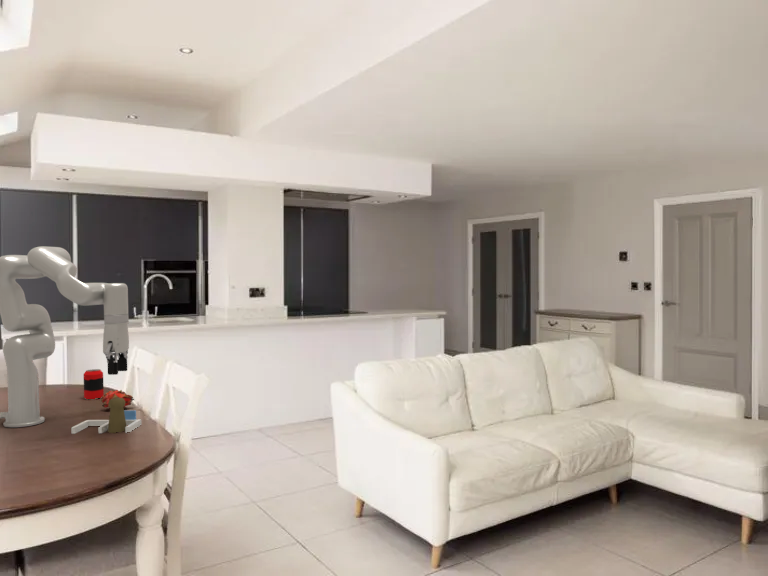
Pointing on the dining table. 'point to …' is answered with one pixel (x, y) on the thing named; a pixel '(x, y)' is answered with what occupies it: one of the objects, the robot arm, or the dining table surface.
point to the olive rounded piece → (116, 415)
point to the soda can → (93, 384)
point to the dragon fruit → (116, 394)
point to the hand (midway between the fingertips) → (117, 372)
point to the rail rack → (103, 424)
